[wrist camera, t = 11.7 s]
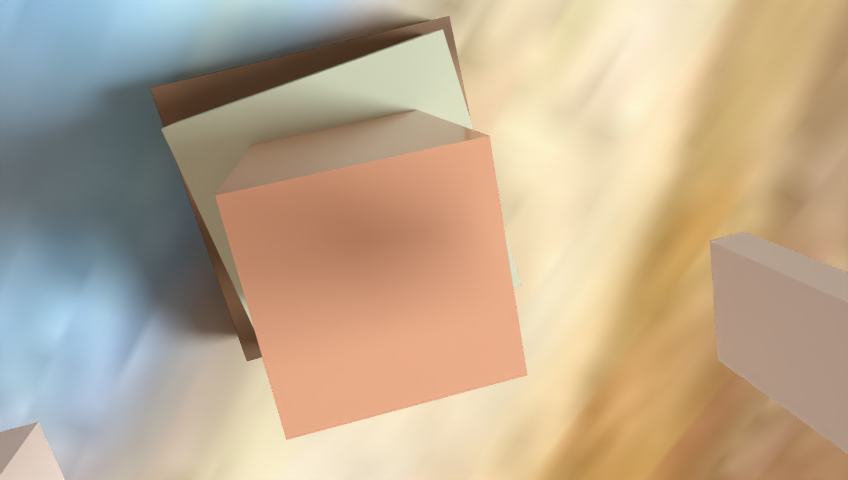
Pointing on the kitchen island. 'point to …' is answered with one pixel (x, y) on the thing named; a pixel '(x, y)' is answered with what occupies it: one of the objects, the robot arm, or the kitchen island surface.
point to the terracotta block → (373, 267)
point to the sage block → (315, 118)
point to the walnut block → (258, 77)
